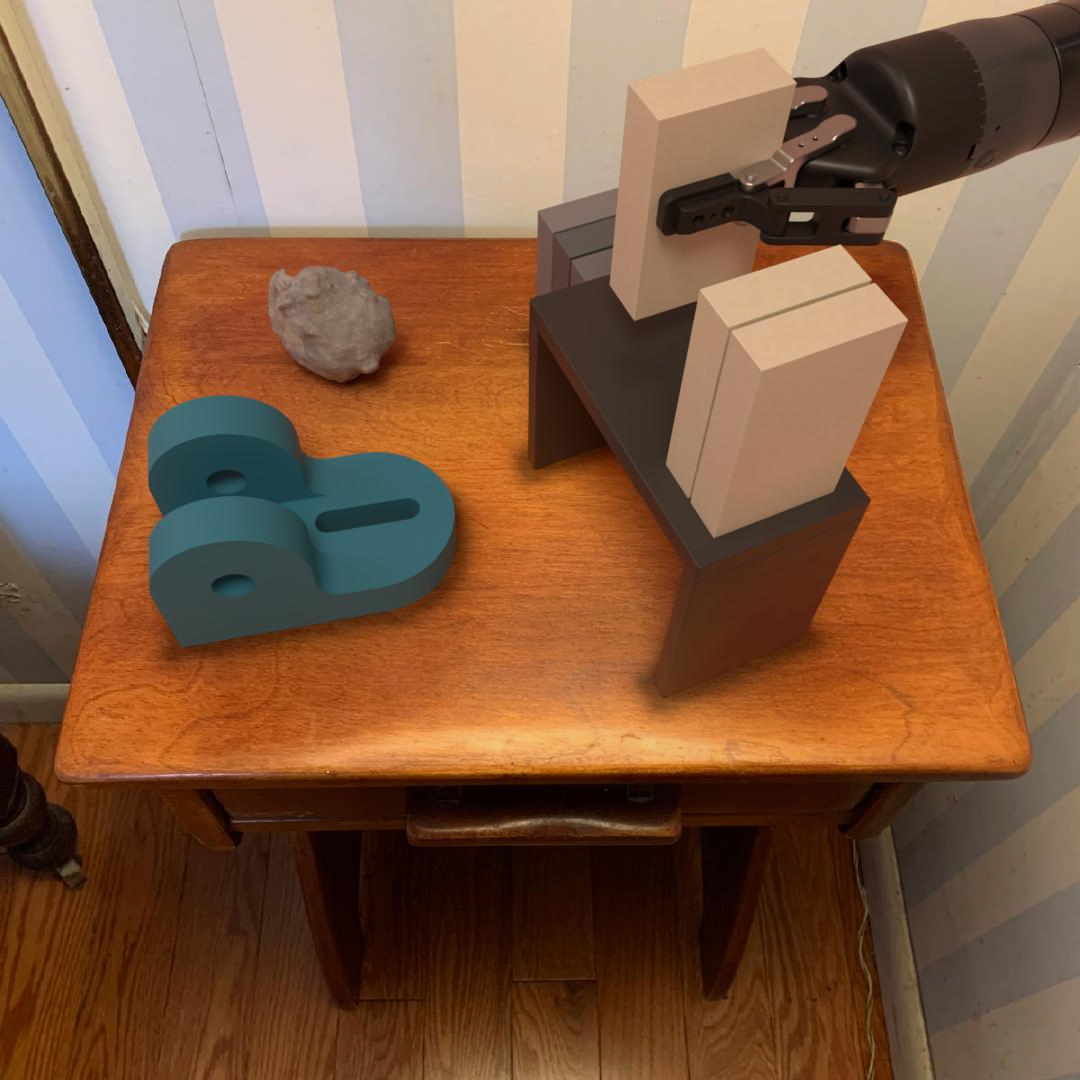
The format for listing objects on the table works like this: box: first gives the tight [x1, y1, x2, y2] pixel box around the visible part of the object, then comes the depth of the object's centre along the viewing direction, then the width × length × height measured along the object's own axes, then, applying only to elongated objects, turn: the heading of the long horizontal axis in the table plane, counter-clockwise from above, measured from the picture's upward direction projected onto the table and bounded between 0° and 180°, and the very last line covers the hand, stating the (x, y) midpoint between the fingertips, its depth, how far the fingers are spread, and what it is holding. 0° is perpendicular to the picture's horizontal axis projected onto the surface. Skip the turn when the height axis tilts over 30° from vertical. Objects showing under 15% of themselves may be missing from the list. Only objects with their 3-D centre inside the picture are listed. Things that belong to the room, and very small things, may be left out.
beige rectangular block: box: [610, 47, 797, 321], centre depth 51 cm, size 3×7×12 cm, turn 114°
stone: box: [267, 265, 397, 384], centre depth 72 cm, size 9×7×10 cm
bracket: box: [147, 394, 458, 649], centre depth 63 cm, size 18×10×10 cm, turn 102°
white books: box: [666, 245, 909, 538], centre depth 47 cm, size 5×7×12 cm
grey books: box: [535, 187, 619, 297], centre depth 72 cm, size 8×7×12 cm
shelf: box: [527, 274, 872, 699], centre depth 62 cm, size 20×10×15 cm, turn 24°
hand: (645, 192), depth 49 cm, fingers closed on beige rectangular block, 3 cm apart
